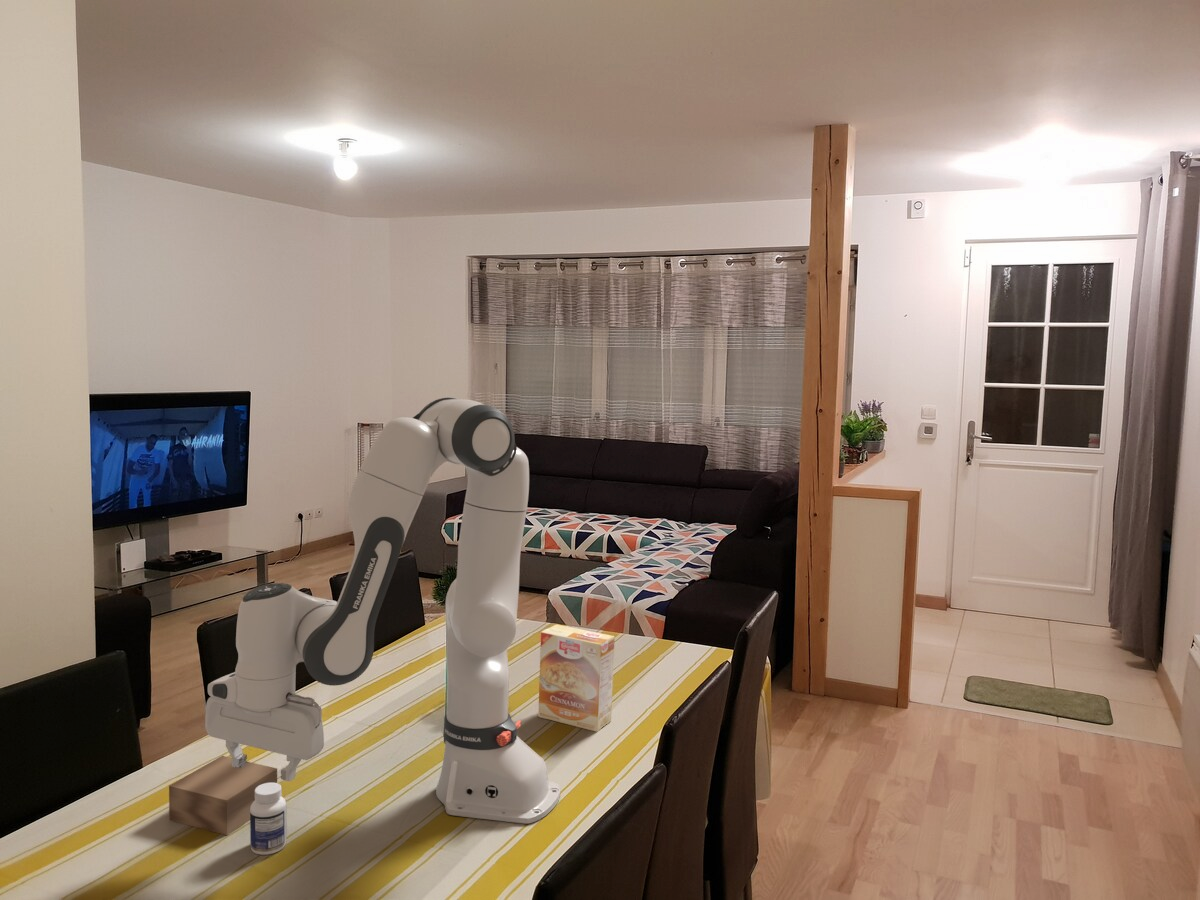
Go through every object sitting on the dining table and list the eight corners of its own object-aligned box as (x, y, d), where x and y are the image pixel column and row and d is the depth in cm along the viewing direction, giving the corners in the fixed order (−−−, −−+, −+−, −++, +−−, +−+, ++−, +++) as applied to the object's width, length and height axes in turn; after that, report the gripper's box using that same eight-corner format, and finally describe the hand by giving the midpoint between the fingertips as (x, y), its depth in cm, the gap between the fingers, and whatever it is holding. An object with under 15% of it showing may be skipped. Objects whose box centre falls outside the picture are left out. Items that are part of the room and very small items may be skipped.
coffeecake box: (537, 717, 193) (539, 631, 191) (553, 706, 200) (556, 623, 198) (597, 732, 187) (600, 643, 184) (612, 721, 193) (615, 634, 191)
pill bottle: (256, 837, 142) (255, 780, 141) (290, 836, 143) (290, 779, 142) (245, 856, 137) (245, 796, 136) (281, 855, 138) (281, 796, 137)
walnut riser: (277, 801, 154) (277, 768, 153) (227, 835, 143) (226, 800, 142) (222, 787, 158) (222, 755, 157) (169, 820, 147) (168, 785, 146)
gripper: (334, 693, 137) (331, 778, 138) (228, 670, 143) (226, 751, 145) (307, 707, 131) (305, 796, 132) (198, 683, 137) (197, 767, 139)
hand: (263, 772), depth 138 cm, fingers open, 8 cm apart
